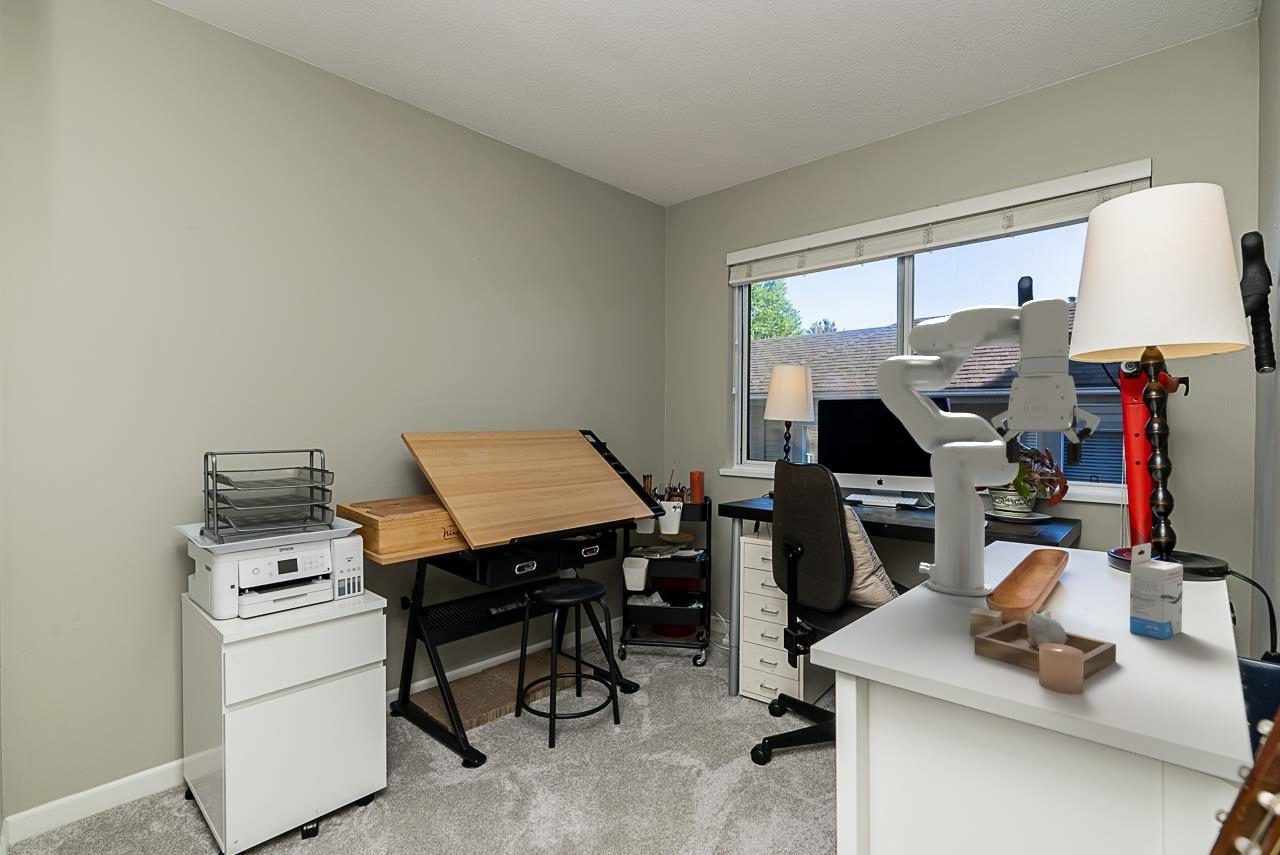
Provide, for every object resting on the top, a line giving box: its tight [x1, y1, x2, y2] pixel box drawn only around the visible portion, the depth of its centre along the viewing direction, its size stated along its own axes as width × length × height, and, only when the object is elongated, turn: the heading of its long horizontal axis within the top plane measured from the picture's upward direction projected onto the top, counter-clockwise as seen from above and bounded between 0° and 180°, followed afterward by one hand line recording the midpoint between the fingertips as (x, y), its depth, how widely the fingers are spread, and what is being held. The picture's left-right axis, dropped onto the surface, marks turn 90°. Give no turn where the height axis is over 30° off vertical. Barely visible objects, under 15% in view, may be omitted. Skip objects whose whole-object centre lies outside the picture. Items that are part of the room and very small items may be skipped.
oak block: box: [969, 607, 1003, 638], centre depth 106 cm, size 4×4×4 cm
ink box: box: [1129, 542, 1184, 640], centre depth 108 cm, size 8×5×15 cm, turn 123°
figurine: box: [1026, 610, 1069, 647], centre depth 97 cm, size 8×6×8 cm
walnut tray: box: [973, 619, 1117, 681], centre depth 96 cm, size 14×14×3 cm
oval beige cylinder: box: [1038, 643, 1084, 695], centre depth 85 cm, size 5×5×5 cm
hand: (1042, 464), depth 114 cm, fingers open, 9 cm apart
